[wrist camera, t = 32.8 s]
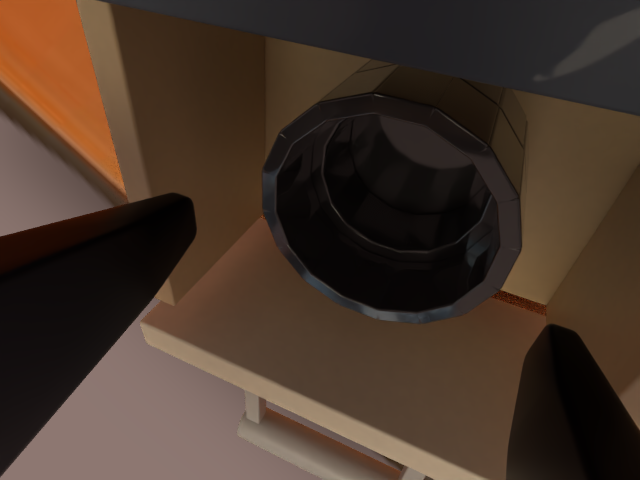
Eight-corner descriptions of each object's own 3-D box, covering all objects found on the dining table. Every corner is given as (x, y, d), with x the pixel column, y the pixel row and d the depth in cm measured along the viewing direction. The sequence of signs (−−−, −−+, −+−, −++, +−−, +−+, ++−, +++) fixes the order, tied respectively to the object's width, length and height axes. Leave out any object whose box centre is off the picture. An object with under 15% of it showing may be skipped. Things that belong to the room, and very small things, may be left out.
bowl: (487, 246, 13) (466, 355, 10) (325, 196, 15) (262, 276, 11) (569, 65, 10) (580, 140, 6) (345, 22, 11) (259, 66, 8)
